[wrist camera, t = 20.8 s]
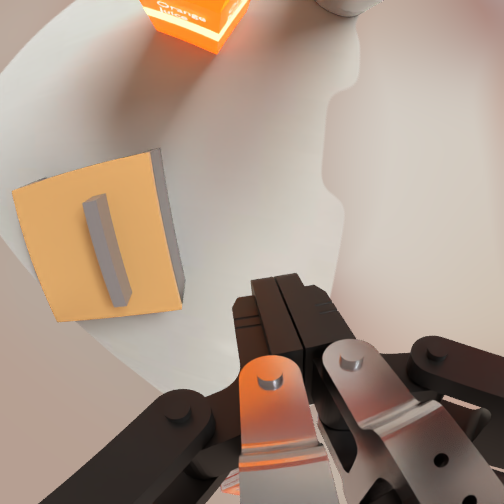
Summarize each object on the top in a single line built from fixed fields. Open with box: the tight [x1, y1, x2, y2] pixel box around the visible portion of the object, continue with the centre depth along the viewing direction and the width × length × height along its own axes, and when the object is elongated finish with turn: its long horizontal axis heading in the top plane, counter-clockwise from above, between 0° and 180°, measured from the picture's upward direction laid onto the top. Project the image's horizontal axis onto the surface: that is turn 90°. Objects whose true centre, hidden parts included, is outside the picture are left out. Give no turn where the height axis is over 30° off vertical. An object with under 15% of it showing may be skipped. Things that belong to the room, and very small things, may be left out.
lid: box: [12, 152, 182, 322], centre depth 29 cm, size 18×18×4 cm
